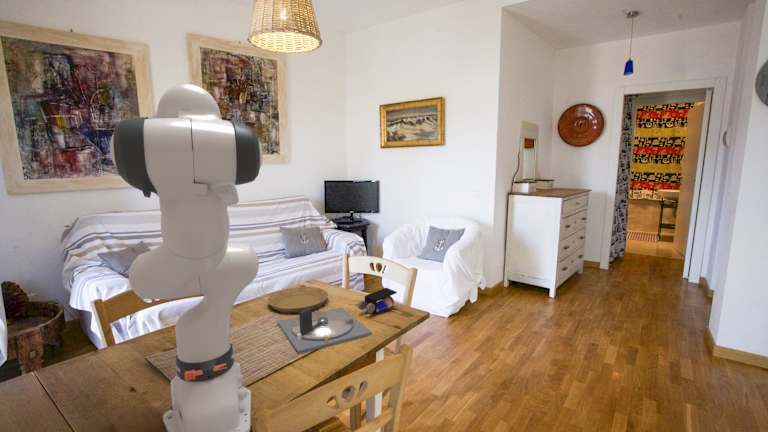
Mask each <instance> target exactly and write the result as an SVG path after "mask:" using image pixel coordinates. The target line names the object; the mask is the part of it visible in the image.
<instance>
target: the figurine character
mask: <svg viewBox="0 0 768 432" xmlns="http://www.w3.org/2000/svg"><path fill="white" fill-rule="evenodd" d="M395 294H397V291H396V290H393V289H391V288H388V287H384V288H382V289H378V290H376V291H374V292H371V293H369V294H366V295H364V300H363V299H362V300H360V301H359V302H358V304H357V308H358V309H359V310H361V311H364V310H366V312H364V315H367V314H369V317H372V316H374V315H376V313H377V312H380V311H383V310H386V309H390V308H392V307H393V306H394V304H395V300H394V298H393V297H392V296H393V295H395Z"/></svg>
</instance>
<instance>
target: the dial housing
mask: <svg viewBox="0 0 768 432" xmlns="http://www.w3.org/2000/svg"><path fill="white" fill-rule="evenodd" d="M327 311H334V312H340V313H344V314H347V315H349V316H350V317H351V318H352V319H353V328H352V329H351V330H350V331H349V332H348V333H346V334H344V335H342V336H339V337H336V338H332V339H328V336H327V335H325V340H308V339H303V338H302V335H301V334H300V333H299V334H297V336H296V335H294V334H293V332H292V328H291V326H292V323H293V322H294V321H295V320H296V319H298V318H299V317H300V316H296V317H290V318H286V319H282V320H277V321H276V323H277V326H278V327H279V328H280V330H281V331H282V333H283V334H284V336H285V337H286V338H287V340H288V341H289V343H290V344H291V346H292V347H293V348H294V350H295V352H296V351H297V352H296V353H297V355H301V354H304V353H303V352H305V353H308V351H309V352H311V351H315V350H320V349H323V348H328V347H331V346H335V345H338V344H344V343H346V342H350V341H355V340H358V339H362V338H366V337H369V336H372V335H373V334H372V333H373V332H372V330H370V329H369V328H367V327H366V326H365V325H364V324H363V323H361V321H359V320H358V319H356V317H354V316H353V315H351V314H350V313H349V312H348V311H347V310H346V309H344V308H343V307H337V308H334V309H328V310H327ZM300 353H301V354H300Z"/></svg>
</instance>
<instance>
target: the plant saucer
mask: <svg viewBox="0 0 768 432" xmlns="http://www.w3.org/2000/svg"><path fill="white" fill-rule="evenodd" d="M328 298H329V293H328V291H327V290H325V289H322V288H320V287H316V286H315V287H314V286H313V287H312V286H296V287H291V288H285V289H282V290H279V291H277V292H274V293H273V294H271V295H270V296H269V297H267V303H268V304H269V306H270V307H271V308H272V309H273V310H275V311H277V312H280V313H285V314H287V313H288V314H299V313H300V312H302V311H304V310H306V309H308V308H311V309H312V311H314V310H316V309H318V308H320V307H321V306H322V305H324V303H325V302H326V301H327V300H328Z"/></svg>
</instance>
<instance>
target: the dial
mask: <svg viewBox="0 0 768 432" xmlns="http://www.w3.org/2000/svg"><path fill="white" fill-rule="evenodd" d="M298 314H299V316H298V317H299V318H298V319H296V320H295V321H294V322H293V323H292V326H291V328H292V332H293V334H294V335H296V336H297V334H299V333H300V334H301V335H302V338H303V339H308V340H325V335H327V336H328V339H332V338H336V337H339V336H342V335H344V334H346V333H348V332H349V331H350V330H351V329H352V328H353V319H352V318H351V317H350V316H349V315H347V314H344V313H340V312H334V311H328V310H322V311H315V312H313V310H312V309H311V308H308V309H306V310H304V311H302V312H300V313H298Z"/></svg>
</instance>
